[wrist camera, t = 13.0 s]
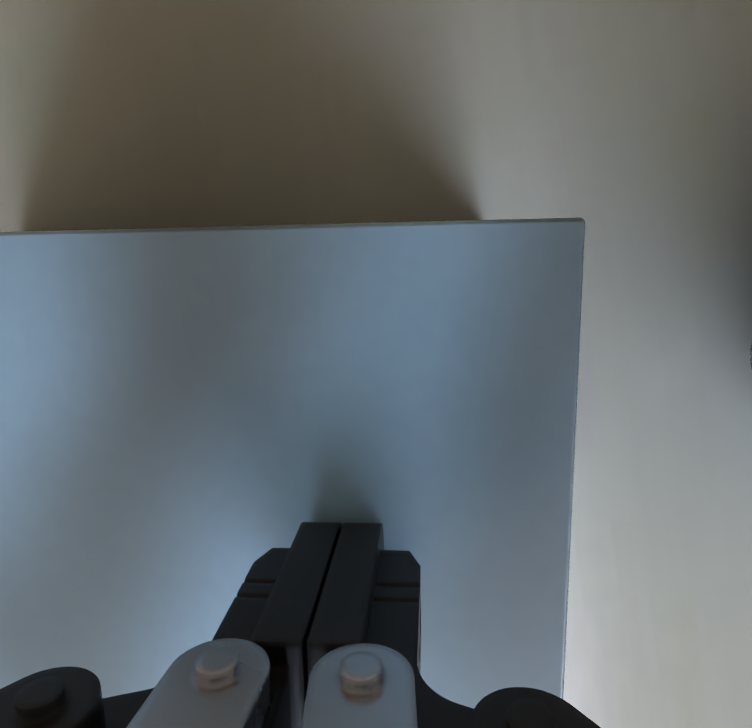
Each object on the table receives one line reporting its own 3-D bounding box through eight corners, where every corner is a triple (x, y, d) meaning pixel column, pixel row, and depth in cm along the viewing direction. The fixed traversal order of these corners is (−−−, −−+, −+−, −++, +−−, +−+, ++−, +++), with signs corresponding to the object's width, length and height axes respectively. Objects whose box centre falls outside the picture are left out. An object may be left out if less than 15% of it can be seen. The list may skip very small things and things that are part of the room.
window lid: (576, 217, 11) (586, 217, 10) (550, 823, 13) (556, 859, 13) (-260, 238, 13) (-307, 239, 12) (-138, 763, 15) (-169, 792, 15)
